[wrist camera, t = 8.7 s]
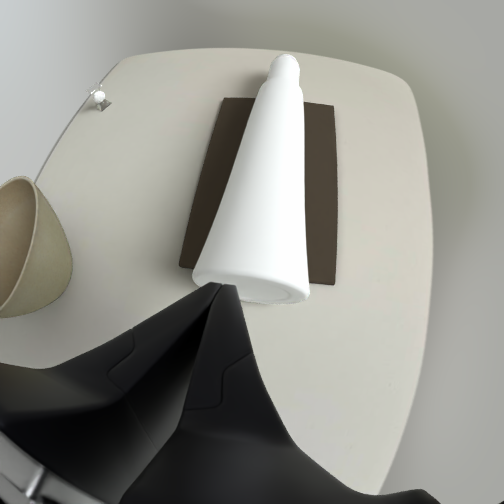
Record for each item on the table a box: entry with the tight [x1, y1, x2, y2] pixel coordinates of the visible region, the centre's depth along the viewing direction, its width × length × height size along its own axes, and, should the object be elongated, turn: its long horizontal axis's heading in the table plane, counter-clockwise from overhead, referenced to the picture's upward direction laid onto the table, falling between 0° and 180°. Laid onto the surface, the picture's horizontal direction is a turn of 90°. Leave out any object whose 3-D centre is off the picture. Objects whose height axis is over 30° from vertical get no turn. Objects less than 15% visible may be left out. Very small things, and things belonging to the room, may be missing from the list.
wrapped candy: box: [87, 83, 111, 111], centre depth 23 cm, size 2×2×3 cm
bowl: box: [0, 176, 72, 318], centre depth 15 cm, size 10×10×7 cm
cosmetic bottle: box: [192, 54, 310, 304], centre depth 18 cm, size 6×6×22 cm
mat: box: [179, 98, 338, 285], centre depth 20 cm, size 16×10×1 cm, turn 172°
